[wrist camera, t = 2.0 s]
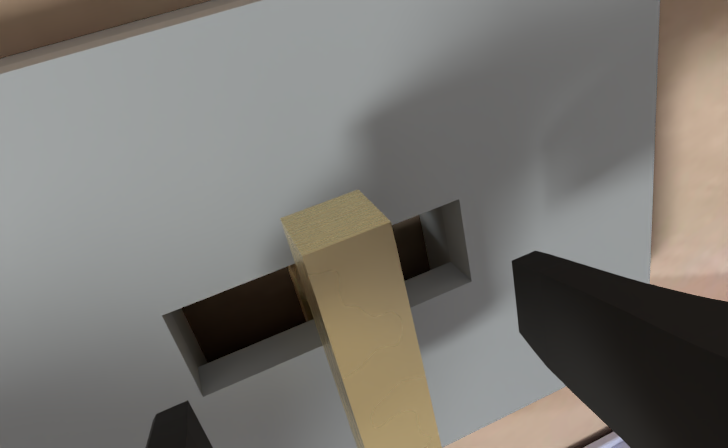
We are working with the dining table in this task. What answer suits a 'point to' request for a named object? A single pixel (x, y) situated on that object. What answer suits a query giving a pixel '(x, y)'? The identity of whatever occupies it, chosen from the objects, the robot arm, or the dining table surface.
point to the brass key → (363, 319)
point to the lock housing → (306, 199)
